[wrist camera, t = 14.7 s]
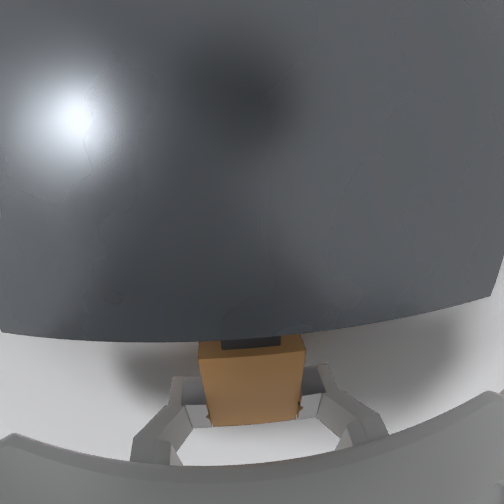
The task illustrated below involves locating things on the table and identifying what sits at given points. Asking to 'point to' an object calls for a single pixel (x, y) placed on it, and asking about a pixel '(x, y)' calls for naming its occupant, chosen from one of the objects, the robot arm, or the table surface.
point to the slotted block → (246, 165)
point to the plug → (252, 379)
